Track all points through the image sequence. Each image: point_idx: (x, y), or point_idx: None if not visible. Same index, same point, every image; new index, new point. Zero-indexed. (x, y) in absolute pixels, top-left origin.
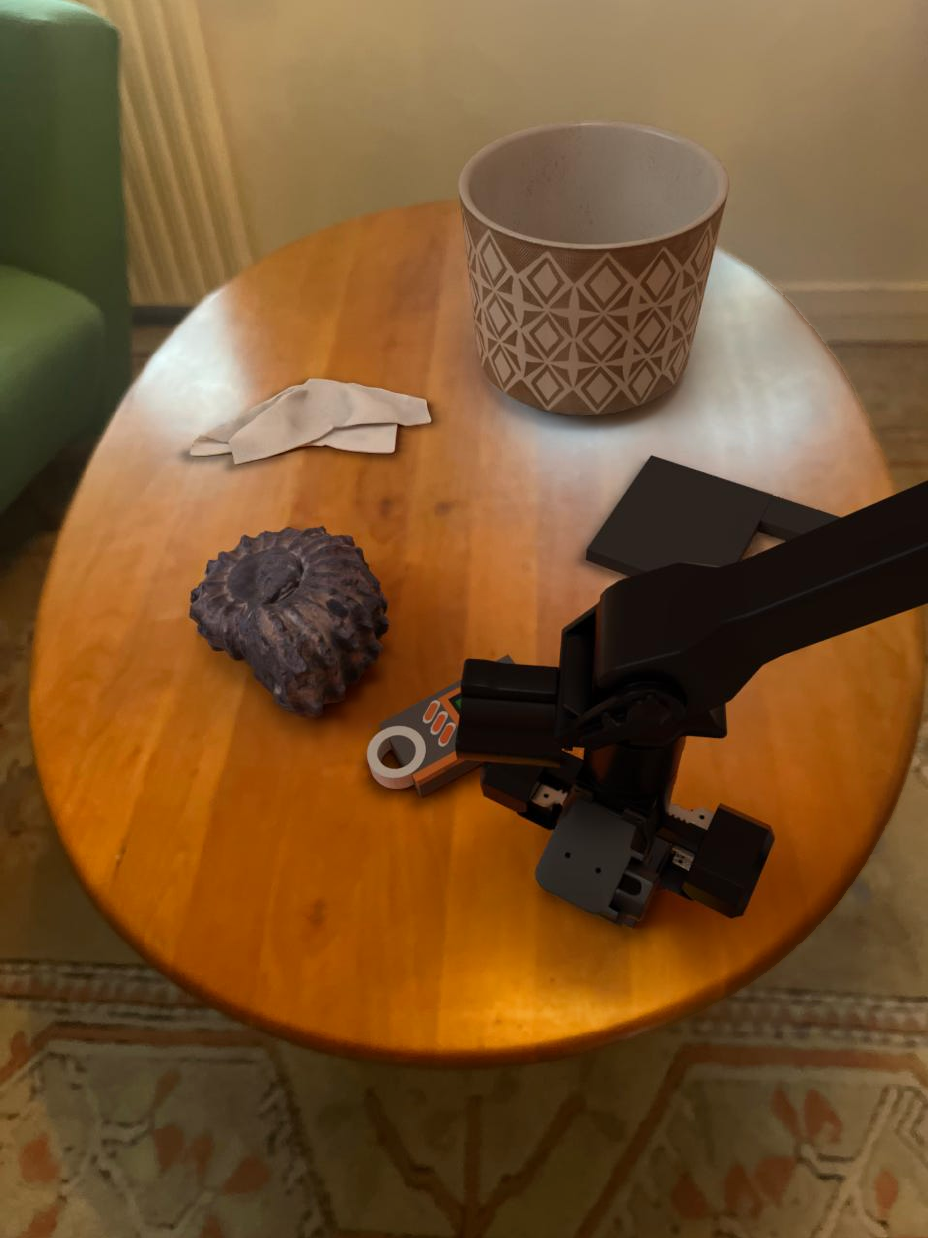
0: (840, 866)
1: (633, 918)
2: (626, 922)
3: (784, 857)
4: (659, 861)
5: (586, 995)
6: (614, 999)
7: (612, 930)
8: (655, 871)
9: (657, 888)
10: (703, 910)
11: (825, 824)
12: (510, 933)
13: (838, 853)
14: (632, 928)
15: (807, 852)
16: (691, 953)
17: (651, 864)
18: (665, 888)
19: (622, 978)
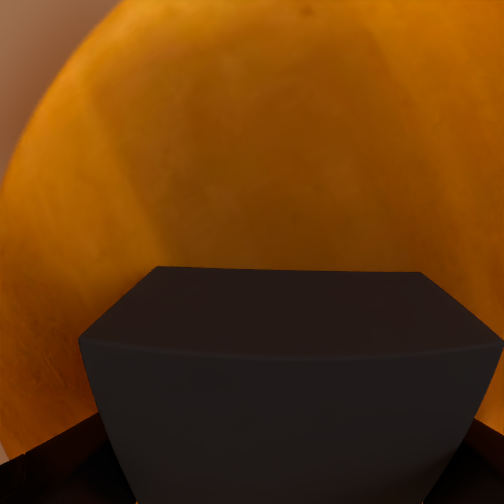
0: (9, 457)
1: (132, 293)
2: (173, 274)
3: None
4: (136, 496)
5: (195, 20)
6: (123, 56)
7: (208, 232)
8: (125, 473)
9: (96, 423)
10: (63, 372)
11: None
12: (467, 92)
13: None
14: (158, 267)
15: None
16: (29, 273)
17: (150, 489)
18: (49, 440)
19: (123, 115)
